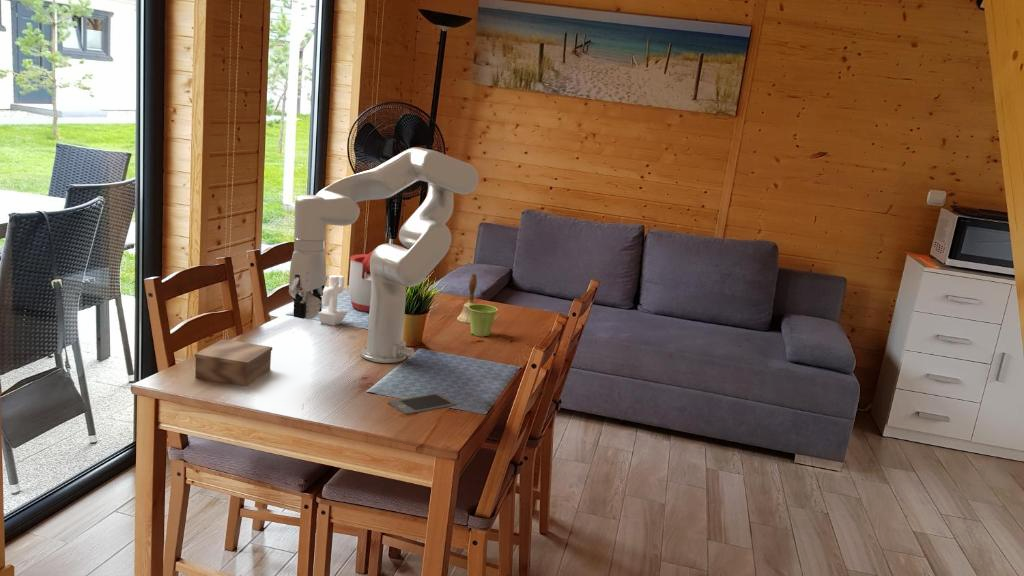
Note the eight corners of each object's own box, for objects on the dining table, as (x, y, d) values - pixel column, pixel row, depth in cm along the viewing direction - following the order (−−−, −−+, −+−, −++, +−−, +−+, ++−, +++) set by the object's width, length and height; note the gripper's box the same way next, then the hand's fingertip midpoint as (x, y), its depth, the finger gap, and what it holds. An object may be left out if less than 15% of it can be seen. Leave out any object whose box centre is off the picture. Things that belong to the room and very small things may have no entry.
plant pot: (494, 340, 255) (497, 313, 253) (464, 336, 255) (467, 309, 253) (495, 331, 264) (498, 306, 262) (466, 328, 264) (469, 302, 262)
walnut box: (271, 369, 207) (272, 347, 206) (246, 386, 194) (247, 362, 193) (221, 361, 209) (222, 339, 207) (193, 377, 196) (194, 353, 194)
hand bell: (454, 316, 277) (458, 270, 273) (477, 317, 279) (482, 271, 276) (459, 323, 269) (464, 276, 265) (484, 324, 272) (489, 277, 268)
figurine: (312, 323, 250) (315, 276, 246) (329, 317, 258) (332, 271, 255) (332, 328, 247) (336, 280, 244) (349, 321, 256) (352, 275, 253)
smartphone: (437, 394, 204) (438, 392, 204) (457, 406, 198) (457, 403, 198) (386, 404, 194) (386, 401, 194) (405, 416, 188) (405, 413, 188)
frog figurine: (291, 315, 209) (291, 289, 207) (318, 314, 212) (319, 288, 210) (296, 322, 204) (297, 295, 202) (324, 321, 207) (325, 294, 205)
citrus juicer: (343, 313, 265) (347, 253, 260) (348, 300, 282) (353, 243, 277) (391, 317, 267) (396, 257, 262) (394, 304, 283) (399, 247, 279)
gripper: (315, 238, 212) (313, 304, 217) (276, 248, 196) (274, 319, 201) (340, 242, 210) (338, 309, 214) (303, 253, 194) (301, 325, 198)
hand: (307, 313), depth 207 cm, fingers closed on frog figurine, 6 cm apart
